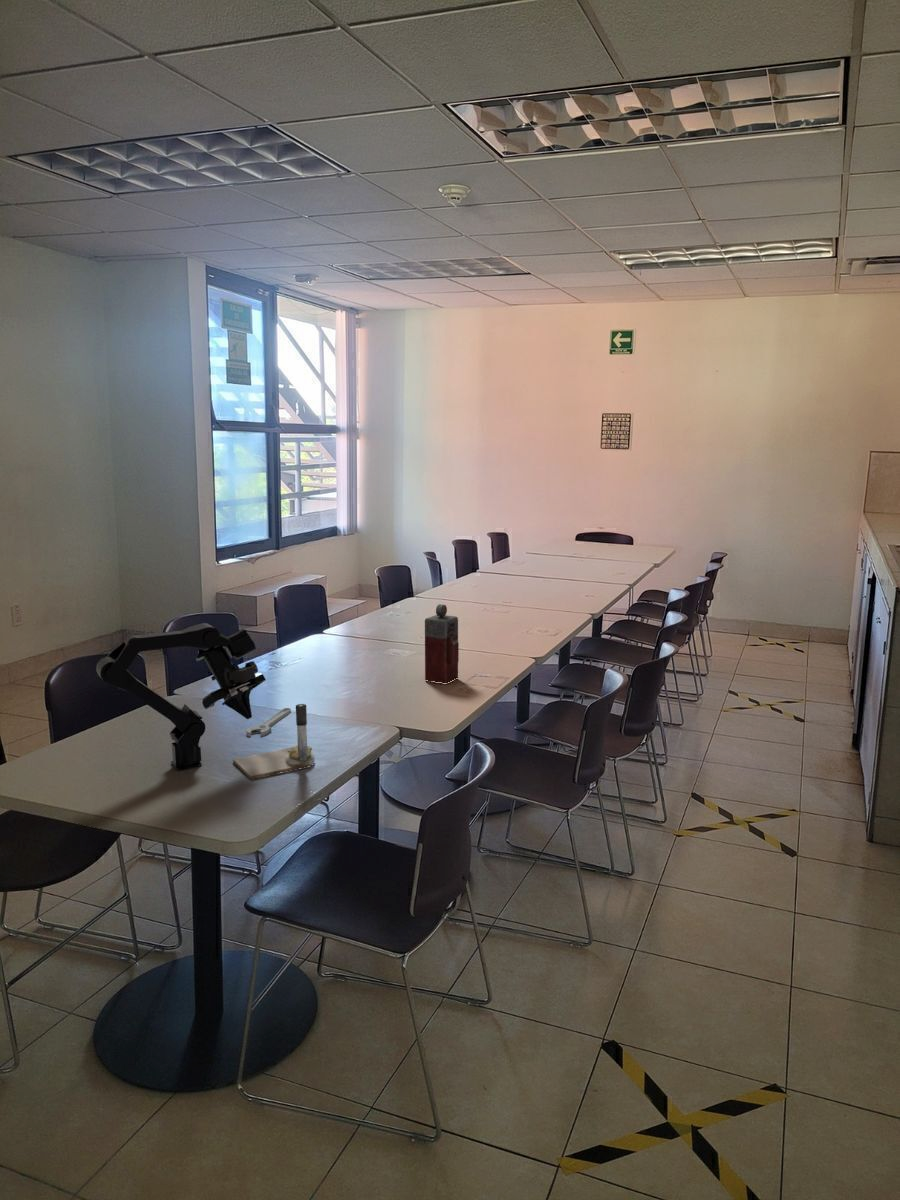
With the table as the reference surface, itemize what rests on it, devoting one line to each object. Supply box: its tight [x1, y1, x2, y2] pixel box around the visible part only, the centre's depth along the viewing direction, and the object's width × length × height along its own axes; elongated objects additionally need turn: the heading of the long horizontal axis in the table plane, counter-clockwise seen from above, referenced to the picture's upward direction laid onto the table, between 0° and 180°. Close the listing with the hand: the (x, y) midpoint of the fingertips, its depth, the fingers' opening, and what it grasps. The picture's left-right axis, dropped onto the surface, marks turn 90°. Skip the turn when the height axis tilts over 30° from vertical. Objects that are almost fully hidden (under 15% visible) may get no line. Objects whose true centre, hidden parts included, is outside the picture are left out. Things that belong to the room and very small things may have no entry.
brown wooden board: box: [232, 747, 316, 780], centre depth 228 cm, size 19×14×2 cm
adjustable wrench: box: [245, 707, 292, 737], centre depth 261 cm, size 25×6×2 cm, turn 162°
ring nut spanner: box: [288, 703, 313, 761], centre depth 224 cm, size 10×6×16 cm, turn 17°
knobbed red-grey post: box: [424, 603, 460, 683], centre depth 305 cm, size 9×11×28 cm
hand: (249, 718), depth 226 cm, fingers closed
